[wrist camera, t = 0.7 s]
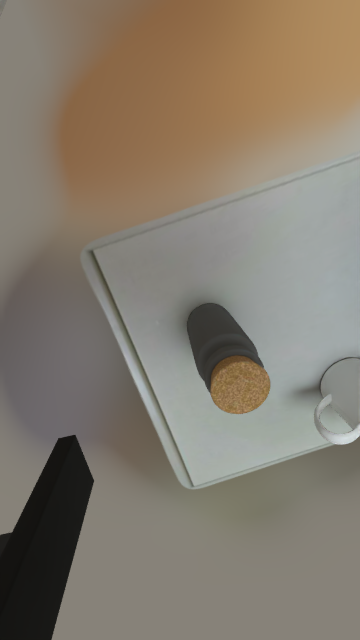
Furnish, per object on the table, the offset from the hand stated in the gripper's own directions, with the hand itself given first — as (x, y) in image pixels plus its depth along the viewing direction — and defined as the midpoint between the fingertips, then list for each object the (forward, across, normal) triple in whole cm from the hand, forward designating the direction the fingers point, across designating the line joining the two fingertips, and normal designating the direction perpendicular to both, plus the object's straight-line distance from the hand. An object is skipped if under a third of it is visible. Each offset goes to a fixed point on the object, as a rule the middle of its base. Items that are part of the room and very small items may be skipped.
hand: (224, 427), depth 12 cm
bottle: (+23, +2, -4) cm, 24 cm away
